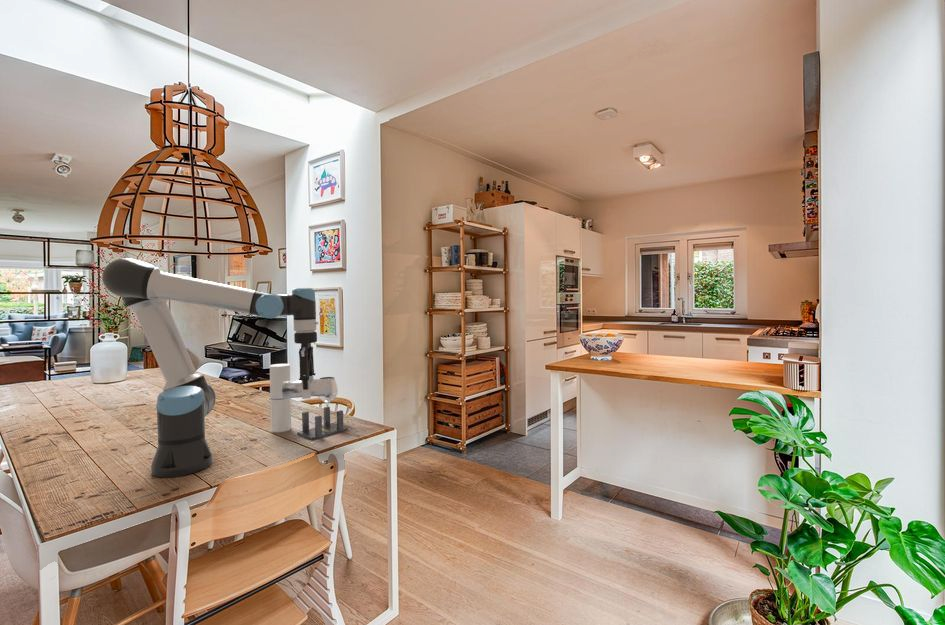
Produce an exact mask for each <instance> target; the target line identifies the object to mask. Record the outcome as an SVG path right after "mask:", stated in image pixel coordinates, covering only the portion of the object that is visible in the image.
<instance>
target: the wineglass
mask: <svg viewBox="0 0 945 625" xmlns="http://www.w3.org/2000/svg"><path fill="white" fill-rule="evenodd" d="M328 378H332V383H333V393H332V395H327V396H317V398H318V399H320V400H321V401H322V402H323V403H324V404H325V407H329V405H330V403H331V402H332V401H333V400H334V399H336V398H337V395H338V384H337V381H336V378H335V377H333V376H324V377H320V378H319V379H328ZM331 423H334V424H336V423H337V419H332V418H330V424H331ZM322 425H324V419H322Z"/></svg>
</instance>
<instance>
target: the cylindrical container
mask: <svg viewBox="0 0 945 625" xmlns="http://www.w3.org/2000/svg"><path fill="white" fill-rule="evenodd" d="M284 381H291V363H274V364H271V365H269V394H270V395H269V398H270V399H269V401H270V404H269V405H270V409H269V411H270V431H271V433H285V432H288V431H290V430H292V408H291V407H292V402H291V401H292V398H286V399H284V398H283V395H282V386H283V382H284Z"/></svg>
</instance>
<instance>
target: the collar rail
mask: <svg viewBox="0 0 945 625" xmlns="http://www.w3.org/2000/svg"><path fill="white" fill-rule="evenodd" d="M322 416H323V418H322ZM330 419H331V407H330V406H328V407H326V406H325V407H323V415H320V414H319V415H315V416H314V427H313V428H310V411H308V410H307V411H303V412H301V426H302V427H301V429H302V430H301V431H297V436H299V437H302V438H305V439H307V440H310V441H314V440H319V439H321V438H325V437H329V436H332V435H336V434H339V433H343V432H346V431H349V427H348V426H347V427H346V426H344V410H342V409H340V410H337V411H336V423H331V424H330ZM322 420H324V424H322Z"/></svg>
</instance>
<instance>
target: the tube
mask: <svg viewBox="0 0 945 625" xmlns="http://www.w3.org/2000/svg"><path fill="white" fill-rule="evenodd" d="M309 380H310V379H309ZM310 393H311V398H313V397H318V396H327V395H332V393H333V383H332V378H328V379H320V378H317V379H316V378H313V380H310ZM282 395H283V398H284V399H286V398H291V399H296V398H299V399H300V398H302V383H301V381H299V379H297V380H290V381H284V382H283V386H282Z"/></svg>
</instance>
